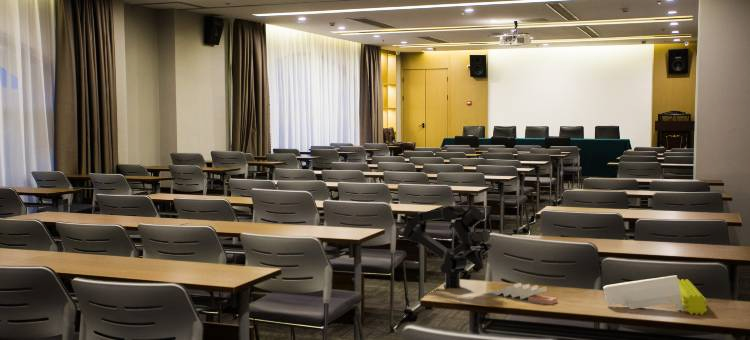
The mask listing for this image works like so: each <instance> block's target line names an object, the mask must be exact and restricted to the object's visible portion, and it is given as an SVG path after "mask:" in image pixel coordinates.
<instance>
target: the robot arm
mask: <svg viewBox="0 0 750 340" xmlns="http://www.w3.org/2000/svg"><path fill="white" fill-rule="evenodd" d="M483 219H484V215H483V212H481V210H480V209H479V208H476V205H470V206H469V207H468V208H467V209H464V208H463V206H462V205H461V204H456V205H453V204H452V205H447V206H444V207H442V208H440V209H437V210H430V211H429V210H428V211H417V212H416V213H415V214H414V215H413V218H412V219H410V220H409V221H408V222H407V223H406V225H405V226H404V229H403V233H402V234H403V237H404V238H405V239H406V240H408V241H410V242H412V243H413V242H414V243H418V244H420V245H421V246H423V247H424V248H426V249H427V250H428V251H430V252H431V253H433V254H434V255H436V256H437V257H438V258H440V259H441V261H442V265H440V267H439V268H440V273H441V274H445V281H444V282H445V284H443V287H444V289H446V290H447V289H461V288H462V286H461V279H460V277H461V272H463V273H464V272H465V269H466V266H467V264H468V262H467V260H468V261H469V262H470V263H472V264H473V265H474V266H476V267H477V268H478V269H479V270H483V269H484V262H483V255H484V254H486V253H487V252H489V251H490V250H492V249H493V246H492V244H491V243H490V242H489V240H490V238H491V234H490V232H489V231H488V230H482V231H481V232H475V231H472V230H471V229H472V228H474V227H475V226H476V225H477V224H479V223H480V222H481V221H482V220H483ZM434 220H444V221H451V222H450V224H449V228H448V229H449V230H454V231H455V233H456V235H457V236H456V237H458V238H457V240H456V241H457V242H458V243H459V244H458V245H457V246H456V247H455V248H451V249H449V248H448V247H446V246H445V245H443V244H441V243H440V242H439V241H437V240H436V239H434V238H433V237H431V236H430V235H429V234H428V233H427V226H428V224H427V222H428V221H434ZM454 220H455V221H454ZM452 221H453V222H452ZM485 241H488V242H485Z"/></svg>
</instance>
